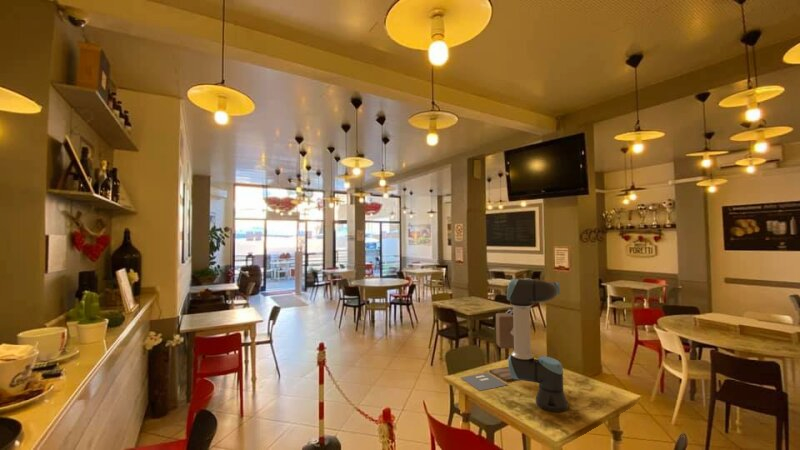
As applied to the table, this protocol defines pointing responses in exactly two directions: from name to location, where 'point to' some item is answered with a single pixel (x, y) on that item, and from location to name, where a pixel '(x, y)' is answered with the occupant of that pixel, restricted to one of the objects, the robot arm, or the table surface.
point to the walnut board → (502, 374)
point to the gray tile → (483, 381)
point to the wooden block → (504, 330)
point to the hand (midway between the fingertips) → (504, 331)
